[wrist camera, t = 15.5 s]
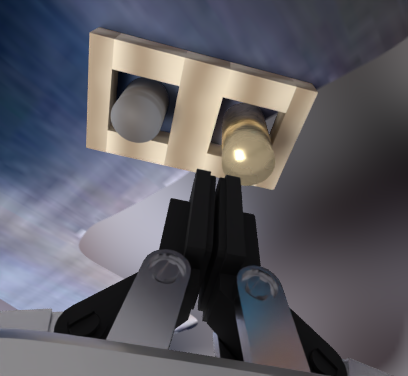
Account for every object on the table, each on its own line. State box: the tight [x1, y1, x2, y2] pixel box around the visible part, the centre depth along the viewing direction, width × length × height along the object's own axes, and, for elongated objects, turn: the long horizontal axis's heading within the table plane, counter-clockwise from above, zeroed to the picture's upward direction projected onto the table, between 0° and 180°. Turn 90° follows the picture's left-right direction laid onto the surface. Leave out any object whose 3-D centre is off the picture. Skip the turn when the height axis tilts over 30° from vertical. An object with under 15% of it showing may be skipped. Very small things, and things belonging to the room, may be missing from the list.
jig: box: [86, 27, 318, 190], centre depth 31 cm, size 20×11×5 cm, turn 76°
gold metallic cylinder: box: [222, 103, 275, 186], centre depth 30 cm, size 4×4×8 cm
